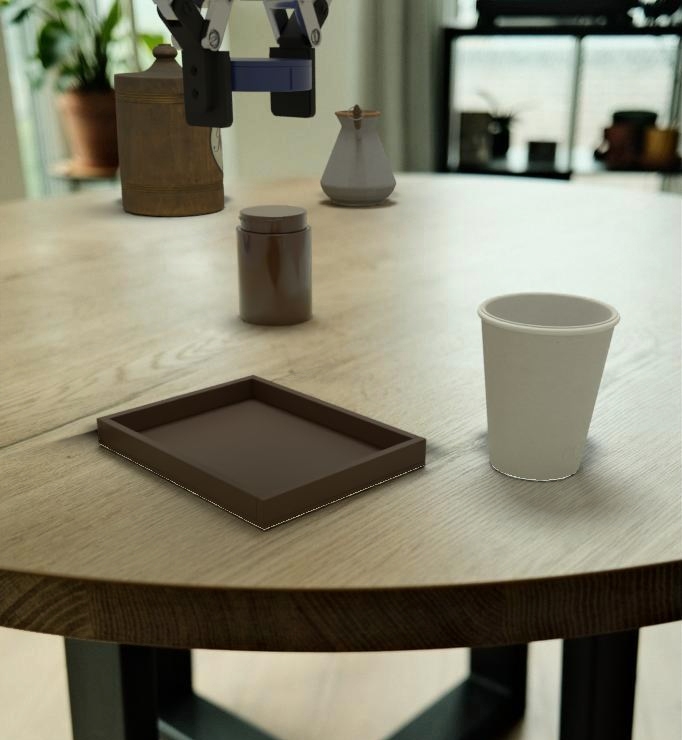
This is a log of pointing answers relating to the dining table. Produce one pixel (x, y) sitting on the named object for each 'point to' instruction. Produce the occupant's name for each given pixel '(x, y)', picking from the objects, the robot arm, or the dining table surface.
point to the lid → (271, 74)
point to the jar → (274, 265)
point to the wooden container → (165, 144)
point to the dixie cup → (542, 378)
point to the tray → (261, 447)
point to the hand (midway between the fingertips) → (253, 119)
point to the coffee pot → (358, 162)
